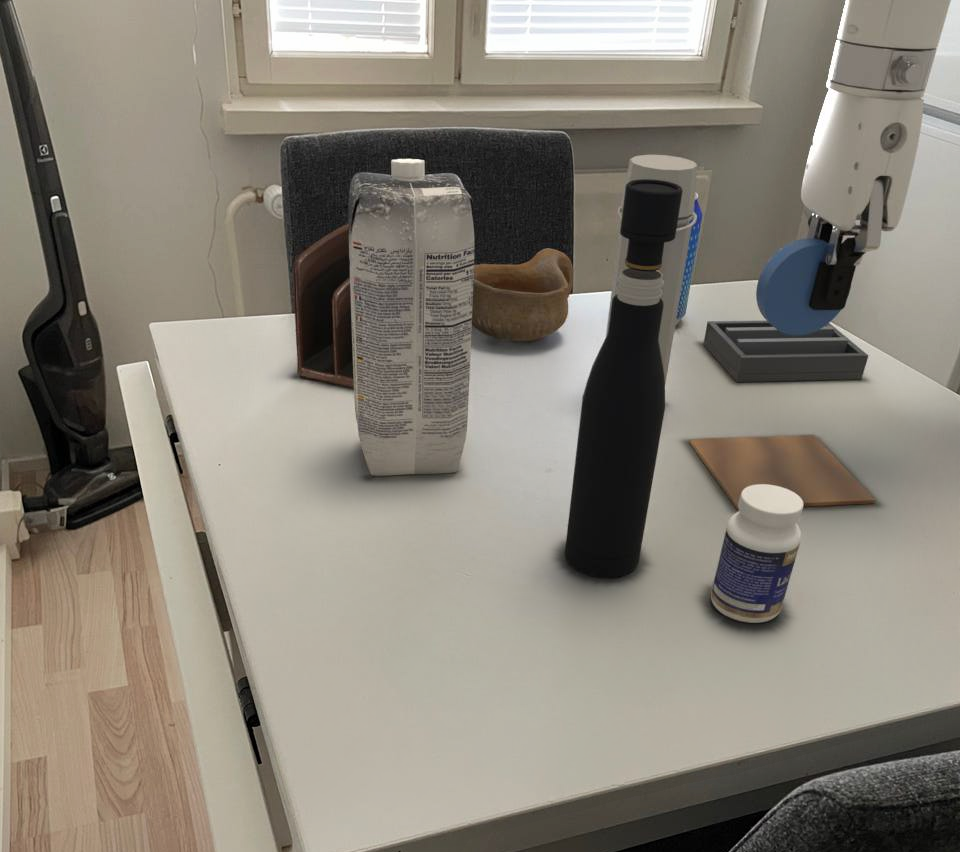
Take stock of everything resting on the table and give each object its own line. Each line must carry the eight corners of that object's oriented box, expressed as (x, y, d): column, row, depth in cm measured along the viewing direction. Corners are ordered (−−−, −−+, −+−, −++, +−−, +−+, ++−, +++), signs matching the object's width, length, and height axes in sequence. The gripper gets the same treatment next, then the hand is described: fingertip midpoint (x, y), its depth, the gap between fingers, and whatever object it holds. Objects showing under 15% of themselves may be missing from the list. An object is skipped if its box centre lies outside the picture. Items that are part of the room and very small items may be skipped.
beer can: (640, 304, 138) (657, 180, 128) (694, 318, 134) (717, 193, 124) (609, 320, 132) (626, 192, 122) (666, 335, 128) (687, 205, 119)
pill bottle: (782, 630, 78) (814, 521, 72) (709, 620, 79) (734, 511, 73) (778, 590, 83) (807, 484, 77) (709, 581, 83) (732, 475, 77)
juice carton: (469, 478, 96) (482, 178, 79) (360, 483, 94) (350, 176, 77) (456, 437, 102) (465, 153, 86) (354, 440, 101) (344, 151, 84)
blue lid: (848, 303, 91) (833, 221, 86) (858, 311, 89) (843, 228, 84) (766, 342, 92) (746, 263, 87) (775, 350, 90) (755, 270, 85)
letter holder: (296, 377, 113) (287, 250, 104) (375, 322, 128) (372, 207, 119) (375, 394, 110) (372, 264, 101) (446, 336, 125) (448, 219, 116)
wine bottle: (586, 584, 82) (637, 200, 64) (551, 545, 87) (590, 176, 68) (652, 570, 84) (720, 194, 66) (615, 532, 89) (669, 172, 70)
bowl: (489, 287, 136) (512, 217, 129) (578, 334, 134) (606, 265, 127) (430, 326, 123) (452, 250, 116) (527, 379, 121) (556, 304, 114)
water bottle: (598, 386, 114) (627, 150, 99) (666, 394, 113) (706, 157, 98) (589, 419, 107) (618, 170, 92) (661, 428, 106) (704, 178, 91)
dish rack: (819, 342, 129) (826, 315, 127) (861, 379, 120) (869, 351, 118) (703, 344, 127) (708, 317, 125) (736, 382, 117) (742, 353, 115)
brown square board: (813, 438, 106) (814, 434, 106) (874, 503, 95) (875, 499, 95) (688, 442, 104) (689, 438, 104) (736, 509, 93) (737, 505, 93)
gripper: (977, 89, 72) (900, 335, 84) (876, 57, 85) (820, 275, 96) (883, 86, 71) (817, 336, 82) (794, 54, 84) (747, 275, 95)
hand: (819, 301), depth 89 cm, fingers closed on blue lid, 2 cm apart
